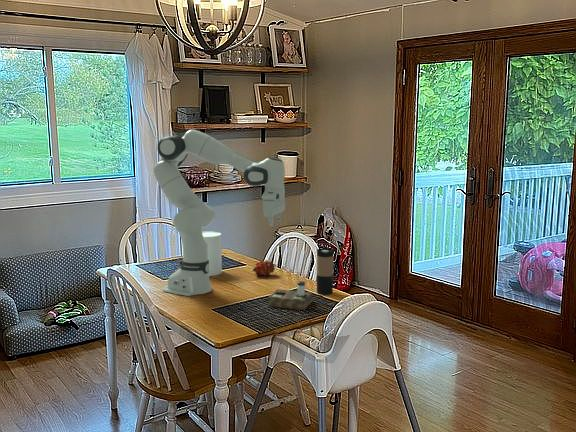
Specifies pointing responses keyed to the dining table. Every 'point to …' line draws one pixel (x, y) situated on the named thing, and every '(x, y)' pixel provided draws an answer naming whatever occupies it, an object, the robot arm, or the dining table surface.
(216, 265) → the canister
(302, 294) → the steel plug
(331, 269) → the travel mug
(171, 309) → the dining table surface
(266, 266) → the dragon fruit
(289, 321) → the dining table surface
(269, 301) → the socket block
